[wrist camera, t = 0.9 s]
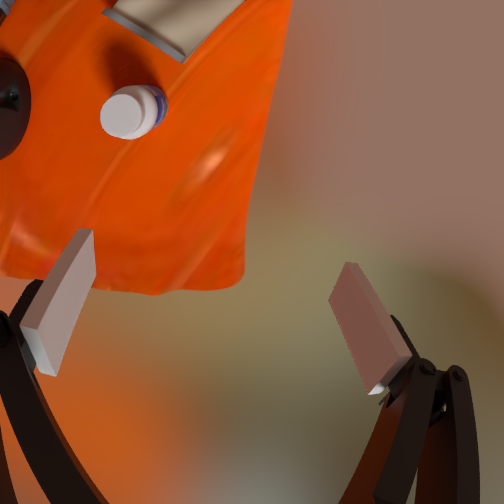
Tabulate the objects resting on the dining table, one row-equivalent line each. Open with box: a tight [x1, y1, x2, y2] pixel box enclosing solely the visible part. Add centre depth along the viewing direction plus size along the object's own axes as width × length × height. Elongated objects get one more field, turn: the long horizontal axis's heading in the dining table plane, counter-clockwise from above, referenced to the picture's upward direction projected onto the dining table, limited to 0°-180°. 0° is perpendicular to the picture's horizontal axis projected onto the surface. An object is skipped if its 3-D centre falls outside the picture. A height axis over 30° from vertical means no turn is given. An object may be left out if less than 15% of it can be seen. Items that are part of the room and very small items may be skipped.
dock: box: [102, 0, 245, 64], centre depth 23 cm, size 11×11×4 cm
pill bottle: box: [100, 85, 168, 139], centre depth 27 cm, size 5×5×10 cm
